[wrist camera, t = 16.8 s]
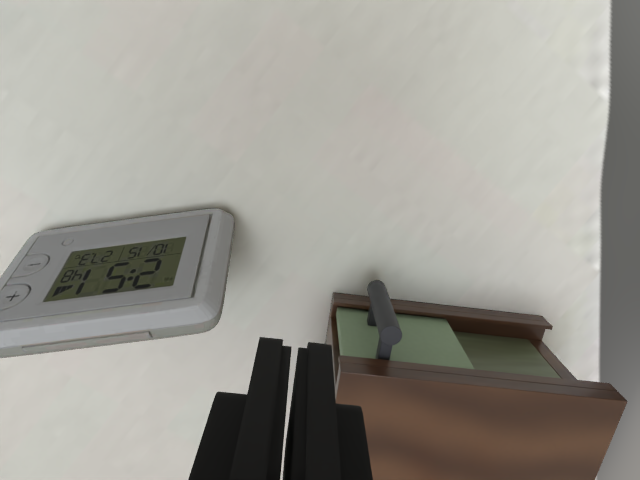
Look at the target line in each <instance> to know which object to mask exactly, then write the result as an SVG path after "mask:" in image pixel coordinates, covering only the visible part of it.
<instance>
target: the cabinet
mask: <svg viewBox="0 0 640 480" xmlns="http://www.w3.org/2000/svg"><path fill="white" fill-rule="evenodd" d="M390 301H391V304H392V306H393V309H394V312H395V313H397V314H406V315H415V316H424V317H433V318H442V319H446V320H447V322H448V323H449V325H450V327H451V329H452V330H453V332H454V334H455V336H456V337H457V339H458V341H459V343H460V344H461V346H462V348H463V350H464V351H465V353H466V355H467V357H468V358H469V360H470V362H471V364H472V365H473V367H474V369H467V368H458V367H448V366H439V365H429V364H420V363H410V362H401V361H391V360H382V359H372V358H363V357H353V356H344V355H340V350H339V340H338V330H337V319H336V312H337V307H343V308H352V309H361V310H369V306H370V299H369V297H368V296H359V295H350V294H341V293H333V296H332V303H331V309H330V316H329V322H328V329H327V335H326V342H325V344H329V345H332V357H333V371H334V385H335V399H336V403H337V404H347V405H357V406H361V408H362V412H363V417H364V424H365V431H366V437H367V444H368V450H369V457H370V464H371V470H372V477H373V480H595V478H596V475H597V473H598V471H599V468H600V466H601V463H602V461H603V459H604V456H605V454H606V451H607V449H608V447H609V444H610V442H611V440H612V437H613V435H614V433H615V430H616V428H617V425H618V423H619V421H620V418H621V416H622V413H623V411H624V409H625V406H626V404H627V400H626V399H625V398H624V397H623V396H622V395H621V394H620V393H619V392H617V390H616V389H615V388H614V387H613V386H612V385H611V384H609V383H600V382H591V381H581V380H577V379H576V378H575V377H574V376H573V375H572V374H571V373H570V372H569V370H568V369H567V368H566V367H565V366H564V365H563V364H562V363H561V362H560V361H559V359H558V358H557V357H556V356H555V355H554V354H553V353H552V352H551V351H550V349H549V348H548V347H547V346H546V345H545V344H544V343H543V342H542V338H543V335H544V332H545V329H551V330H552V327H553V326H552V325H551V324H550V323H549V322H547V321H546V320H545V319H544V318H543V317H542V316H536V315H527V314H518V313H510V312H501V311H492V310H483V309H474V308H465V307H456V306H448V305H439V304H430V303H421V302H412V301H403V300H394V299H390Z"/></svg>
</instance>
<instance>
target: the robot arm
mask: <svg viewBox="0 0 640 480" xmlns="http://www.w3.org/2000/svg"><path fill="white" fill-rule="evenodd" d="M282 343H283V340H282V339H273V338H264V337H260V339H259V343H258V348H257V352H256V357H255V362H254V366H253V371H252V376H251V380H250V385H249V390H248V394H247V395H246V394H236V393H226V392H217V393H216V395H215V398H214V401H213V404H212V407H211V411H210V414H209V417H208V420H207V423H206V426H205V429H204V433H203V436H202V439H201V442H200V445H199V448H198V451H197V454H196V458H195V461H194V464H193V467H192V470H191V473H190V476H189V480H280V474H281V463H282V451H283V439H284V427H285V416H286V404H287V392H288V380H289V369H290V357H291V347H289V346H282ZM283 480H373V477H372V470H371V464H370V457H369V450H368V444H367V437H366V431H365V424H364V417H363V412H362V408H361V406H357V405H347V404H337V403H336V399H335V385H334V371H333V357H332V345H329V344H320V343H311V342H308V346H307V348H298V355H297V363H296V370H295V378H294V385H293V393H292V401H291V408H290V416H289V423H288V431H287V438H286V447H285V457H284V470H283Z"/></svg>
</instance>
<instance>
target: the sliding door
mask: <svg viewBox="0 0 640 480" xmlns="http://www.w3.org/2000/svg"><path fill="white" fill-rule="evenodd" d="M367 291H368V295H369V299H370V306H369V310H361V309H352V308H343V307H337V312H336V319H337V330H338V340H339V350H340V355H344V356H353V357H363V358H372V359H382V360H391V361H401V362H410V363H420V364H429V365H439V366H448V367H458V368H467V369H474V367H473V365H472V364H471V362H470V360H469V358H468V357H467V355H466V353H465V351H464V350H463V348H462V346H461V344H460V343H459V341H458V339H457V337H456V336H455V334H454V332H453V330H452V329H451V327H450V325H449V323H448V322H447V320H446V319H442V318H433V317H424V316H415V315H406V314H397V313H395V312H394V309H393V306H392V304H391V301H390V298H389V295H388V293H387V290H386V287H385V285H384V283H383V282H381V281H379V280H374V281H372V282H370V283H369V285H368V287H367Z"/></svg>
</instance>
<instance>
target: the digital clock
mask: <svg viewBox="0 0 640 480" xmlns="http://www.w3.org/2000/svg"><path fill="white" fill-rule="evenodd" d="M234 226H235V224H234V218H233V216H232V215H231V214H229V213H227V212H225V211H223V210H221V209H218V208H213V209H203V210H194V211H186V212H179V213H171V214H163V215H156V216H148V217H141V218H133V219H126V220H118V221H110V222H103V223H95V224H88V225H80V226H73V227H65V228H58V229H52V230H45V231H41V232H37V233H35V234H34V235H32V236H31V237H30V238H29V239H28V240H27V241H26V243H25V244H24V245H23V247H22V248H21V250H20V251H19V252H18V254H17V255H16V257H15V258H14V259H13V261H12V262H11V264H10V265H9V266H8V268H7V269H6V271H5V272H4V273H3V275H2V276H1V278H0V358H6V357H15V356H24V355H33V354H41V353H49V352H57V351H65V350H73V349H81V348H89V347H97V346H105V345H113V344H121V343H130V342H138V341H146V340H154V339H162V338H169V337H177V336H184V335H191V334H198V333H203V332H206V331H209V330H211V329H212V328H214V327H215V326H216V325H217V323H218V322H219V320H220V317H221V314H222V309H223V304H224V297H225V290H226V283H227V277H228V270H229V263H230V256H231V250H232V243H233V236H234Z"/></svg>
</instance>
